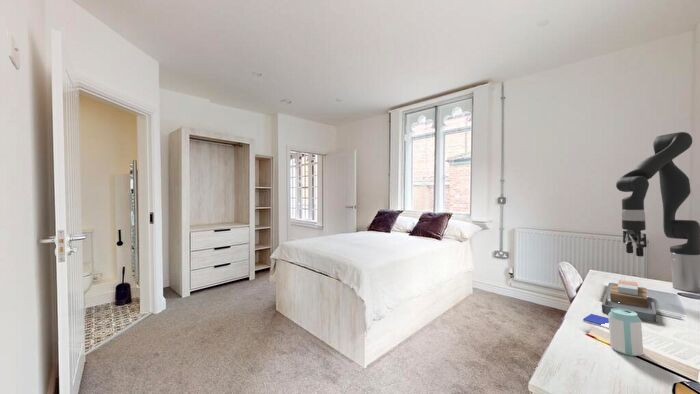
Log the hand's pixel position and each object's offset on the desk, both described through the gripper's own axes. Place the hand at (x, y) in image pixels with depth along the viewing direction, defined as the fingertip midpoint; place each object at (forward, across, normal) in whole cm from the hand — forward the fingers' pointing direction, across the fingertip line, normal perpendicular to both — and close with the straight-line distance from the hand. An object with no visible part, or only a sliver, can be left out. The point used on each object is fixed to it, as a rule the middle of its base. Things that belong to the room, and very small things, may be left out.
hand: (634, 254), depth 124 cm
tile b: (+15, -8, +6) cm, 18 cm away
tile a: (+15, -2, +4) cm, 16 cm away
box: (+20, -21, +11) cm, 31 cm away
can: (+21, -57, +26) cm, 66 cm away
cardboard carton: (+19, -6, +5) cm, 21 cm away
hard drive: (+21, -37, +23) cm, 49 cm away
